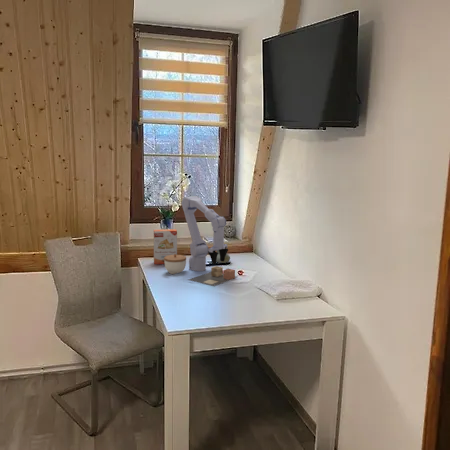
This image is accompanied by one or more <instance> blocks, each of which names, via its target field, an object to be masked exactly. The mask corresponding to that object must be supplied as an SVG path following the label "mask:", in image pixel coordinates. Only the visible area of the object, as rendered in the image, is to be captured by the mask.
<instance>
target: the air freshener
mask: <svg viewBox="0 0 450 450" xmlns="http://www.w3.org/2000/svg"><path fill="white" fill-rule="evenodd" d="M216 252H217V253H218V255H217V260H216V262H218V263H217V264H220V263H225V264H227V263H228V262H230V261H231V260H230V259H231V256H230V255H229V254H228V253H227V254H226V256H225V260H224V262H223V261H220V253H219V250H217V251H216ZM226 262H227V263H226Z"/></svg>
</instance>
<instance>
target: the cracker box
mask: <svg viewBox="0 0 450 450" xmlns="http://www.w3.org/2000/svg"><path fill="white" fill-rule="evenodd" d="M174 254H176V255H178V230H177V229H176V228H172V229H171V228H169V229H167V228H166V229H153V264H154V265H165V262H164V257H165V256H168V255H174Z"/></svg>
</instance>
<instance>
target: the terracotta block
mask: <svg viewBox="0 0 450 450" xmlns="http://www.w3.org/2000/svg"><path fill="white" fill-rule="evenodd" d="M223 274H224V278H225V279H229V281H231V279H232V280H233V278H234V279H235V276H236V269H234V268H233V269H231V268H226V269H224V270H223Z"/></svg>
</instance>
